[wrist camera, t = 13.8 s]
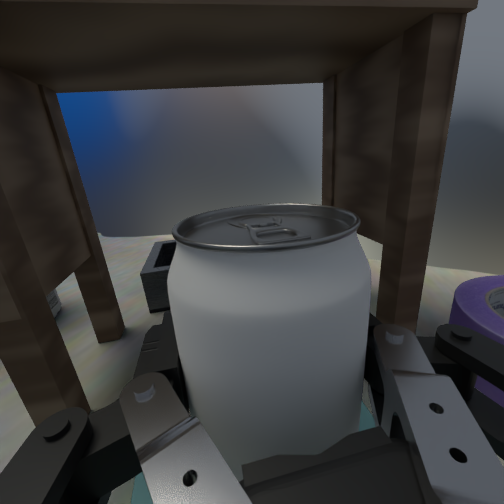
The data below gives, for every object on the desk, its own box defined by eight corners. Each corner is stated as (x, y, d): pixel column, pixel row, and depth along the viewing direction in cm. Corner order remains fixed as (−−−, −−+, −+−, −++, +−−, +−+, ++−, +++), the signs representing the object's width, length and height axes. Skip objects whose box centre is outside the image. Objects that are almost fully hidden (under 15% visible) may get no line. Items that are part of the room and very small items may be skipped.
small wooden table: (416, 360, 20) (483, -32, 12) (40, 453, 16) (-235, -64, 8) (334, 286, 32) (340, 63, 24) (106, 328, 28) (23, 71, 20)
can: (310, 397, 16) (312, 196, 12) (387, 538, 10) (442, 228, 6) (202, 427, 14) (163, 212, 10) (215, 612, 8) (137, 273, 5)
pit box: (297, 287, 33) (296, 250, 31) (149, 313, 30) (140, 273, 28) (271, 255, 44) (269, 227, 43) (161, 272, 41) (155, 242, 40)
